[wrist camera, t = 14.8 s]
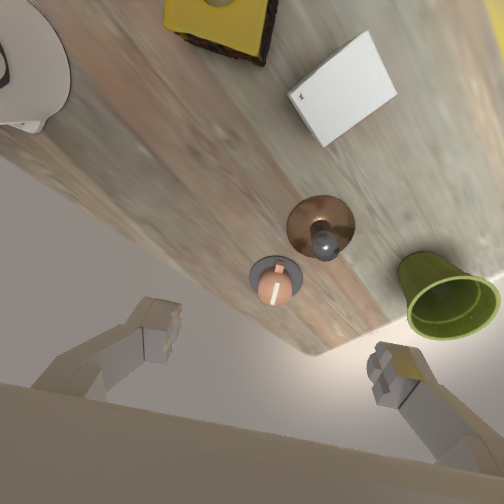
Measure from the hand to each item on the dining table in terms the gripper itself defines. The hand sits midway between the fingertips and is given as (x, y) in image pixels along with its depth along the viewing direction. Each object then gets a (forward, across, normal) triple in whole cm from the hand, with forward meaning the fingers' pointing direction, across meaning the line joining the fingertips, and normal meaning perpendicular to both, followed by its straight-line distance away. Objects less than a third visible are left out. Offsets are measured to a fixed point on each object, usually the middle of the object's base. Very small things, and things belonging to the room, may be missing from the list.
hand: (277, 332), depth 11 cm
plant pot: (+35, -28, +14) cm, 47 cm away
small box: (+35, -4, -9) cm, 37 cm away
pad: (+35, -4, +22) cm, 42 cm away
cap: (+34, -4, +22) cm, 41 cm away
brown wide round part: (+35, -9, +10) cm, 38 cm away
